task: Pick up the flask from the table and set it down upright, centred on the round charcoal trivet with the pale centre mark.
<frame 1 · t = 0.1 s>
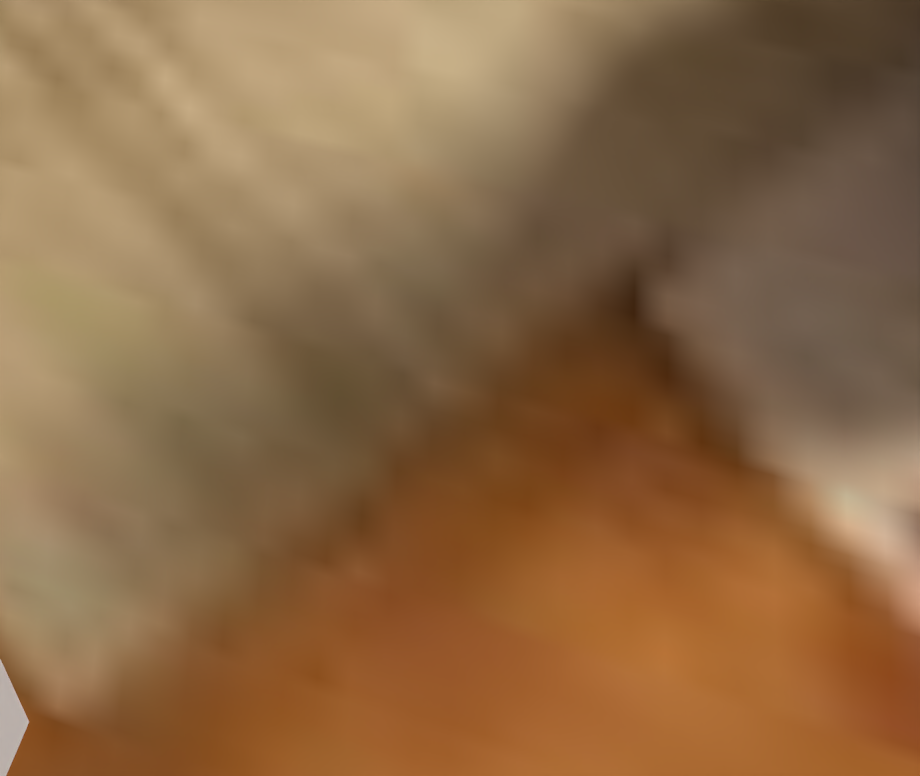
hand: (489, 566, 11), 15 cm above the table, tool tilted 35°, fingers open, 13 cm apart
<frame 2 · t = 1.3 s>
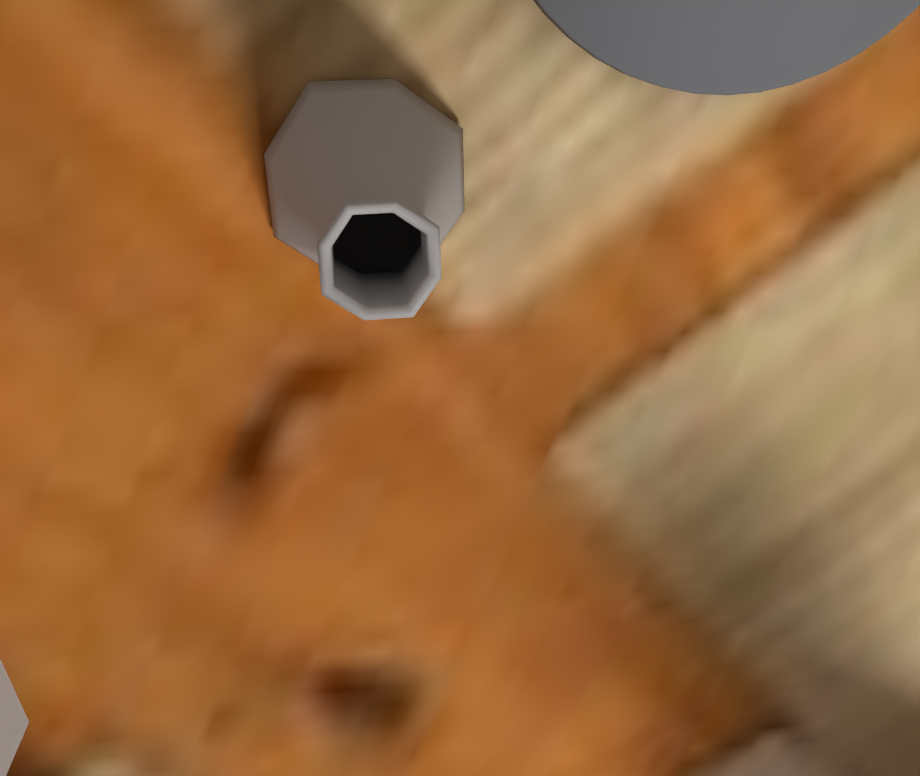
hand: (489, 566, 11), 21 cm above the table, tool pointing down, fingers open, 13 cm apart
flask: (366, 180, 30), on the table
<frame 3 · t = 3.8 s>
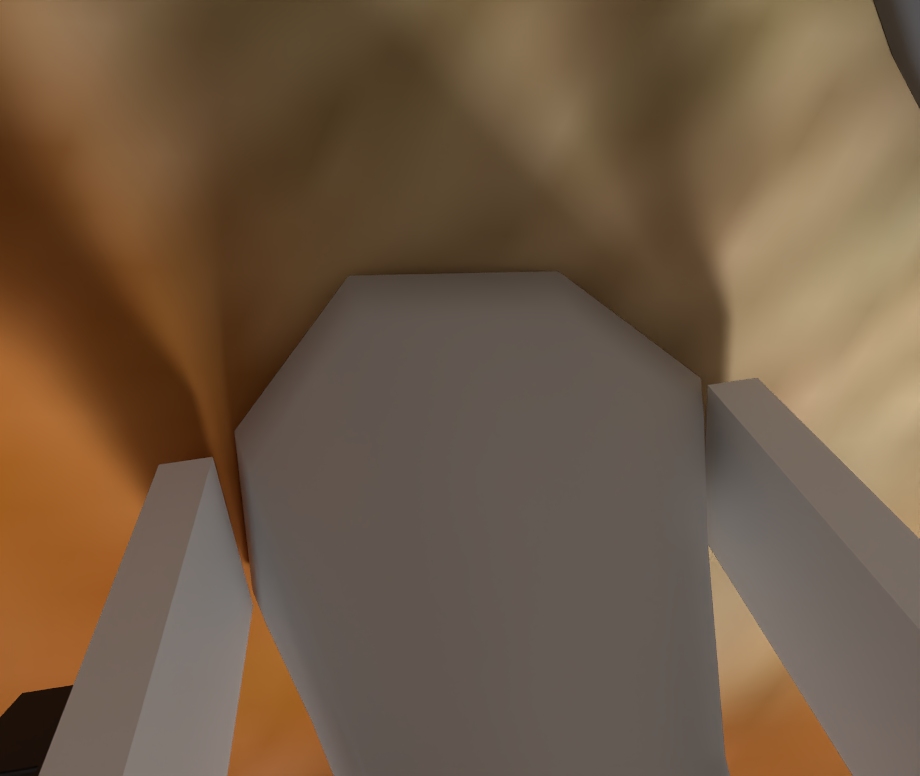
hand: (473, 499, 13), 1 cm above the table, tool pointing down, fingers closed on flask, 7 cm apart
flask: (466, 470, 13), on the table, touching gripper
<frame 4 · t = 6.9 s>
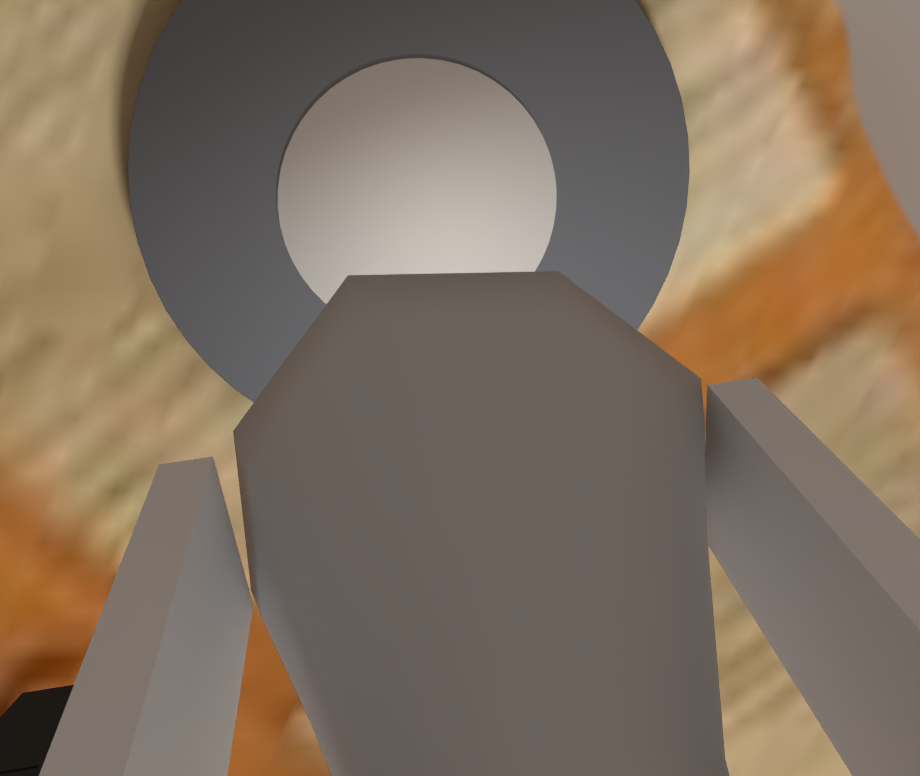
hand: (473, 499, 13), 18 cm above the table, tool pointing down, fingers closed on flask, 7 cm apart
trivet: (417, 199, 28), on the table
flask: (465, 470, 13), point 17 cm above the table, touching gripper
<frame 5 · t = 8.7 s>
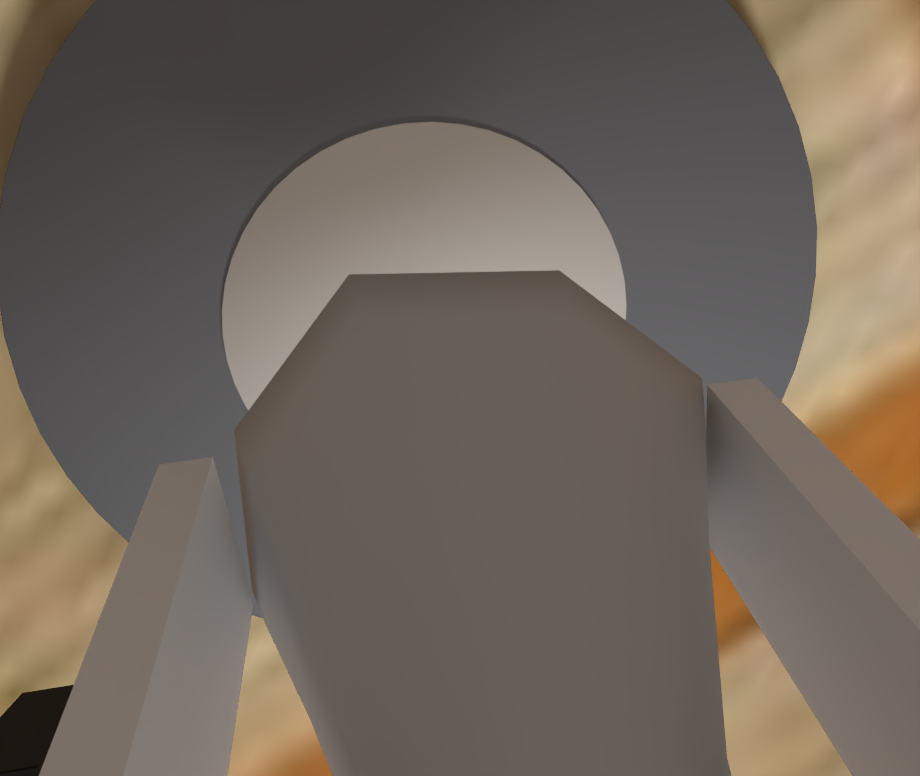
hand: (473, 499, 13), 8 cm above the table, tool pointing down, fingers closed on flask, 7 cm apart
trivet: (425, 313, 20), on the table
flask: (466, 470, 13), point 7 cm above the table, touching gripper
when the fingers open (3 cm above the table, at t = 10.1 s): flask drops 1 cm, resting on trivet.
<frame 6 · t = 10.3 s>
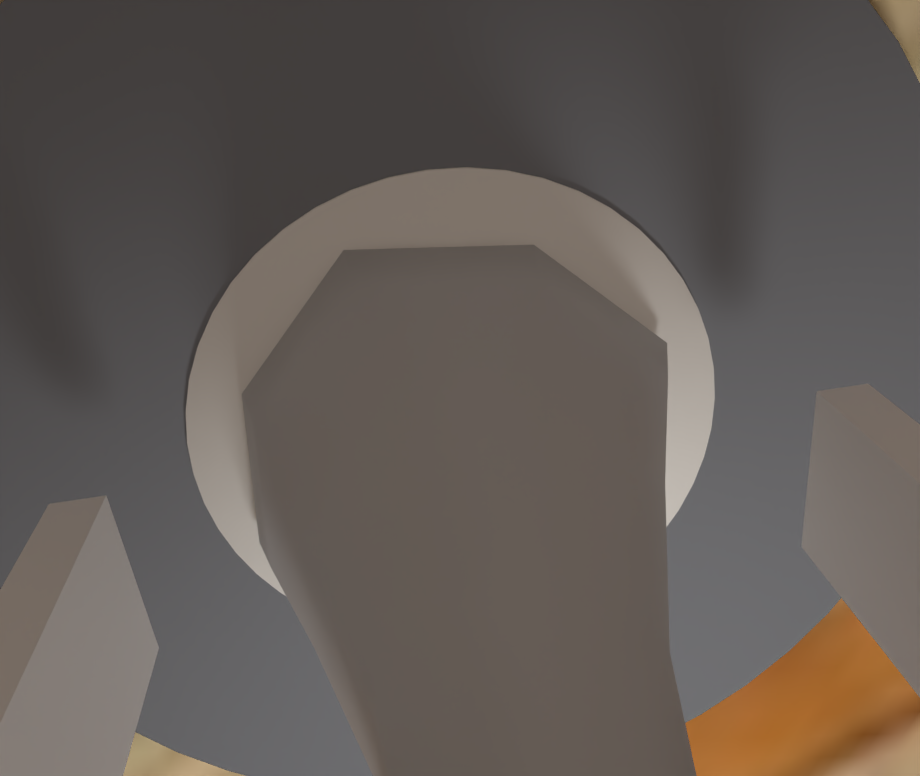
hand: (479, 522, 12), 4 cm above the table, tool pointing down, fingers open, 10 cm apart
trivet: (451, 405, 15), on the table
flask: (454, 431, 15), point 1 cm above the table, touching trivet
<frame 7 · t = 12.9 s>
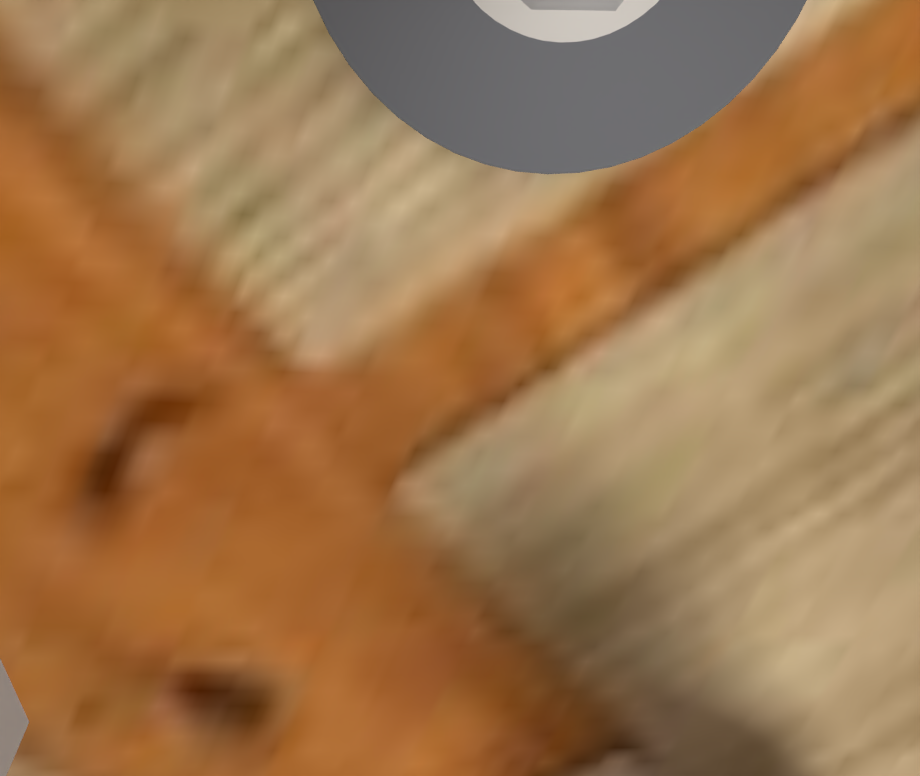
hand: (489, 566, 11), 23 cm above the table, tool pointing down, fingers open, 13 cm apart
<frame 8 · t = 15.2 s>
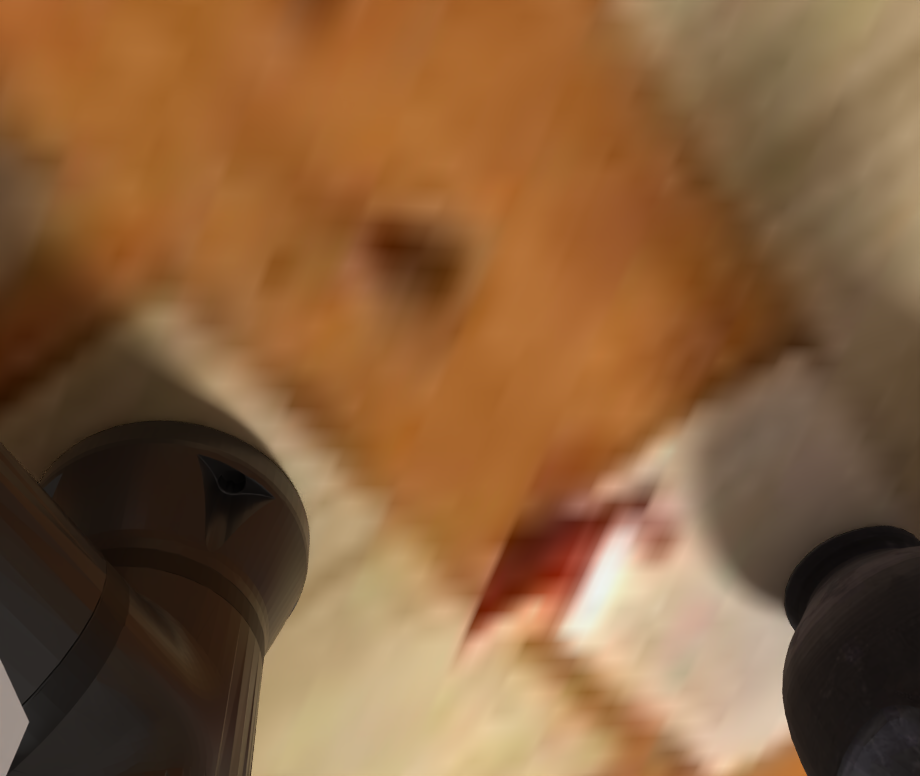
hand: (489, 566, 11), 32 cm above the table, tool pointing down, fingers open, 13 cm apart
pitcher: (838, 567, 55), on the table
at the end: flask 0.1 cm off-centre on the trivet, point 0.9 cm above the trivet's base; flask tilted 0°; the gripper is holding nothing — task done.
